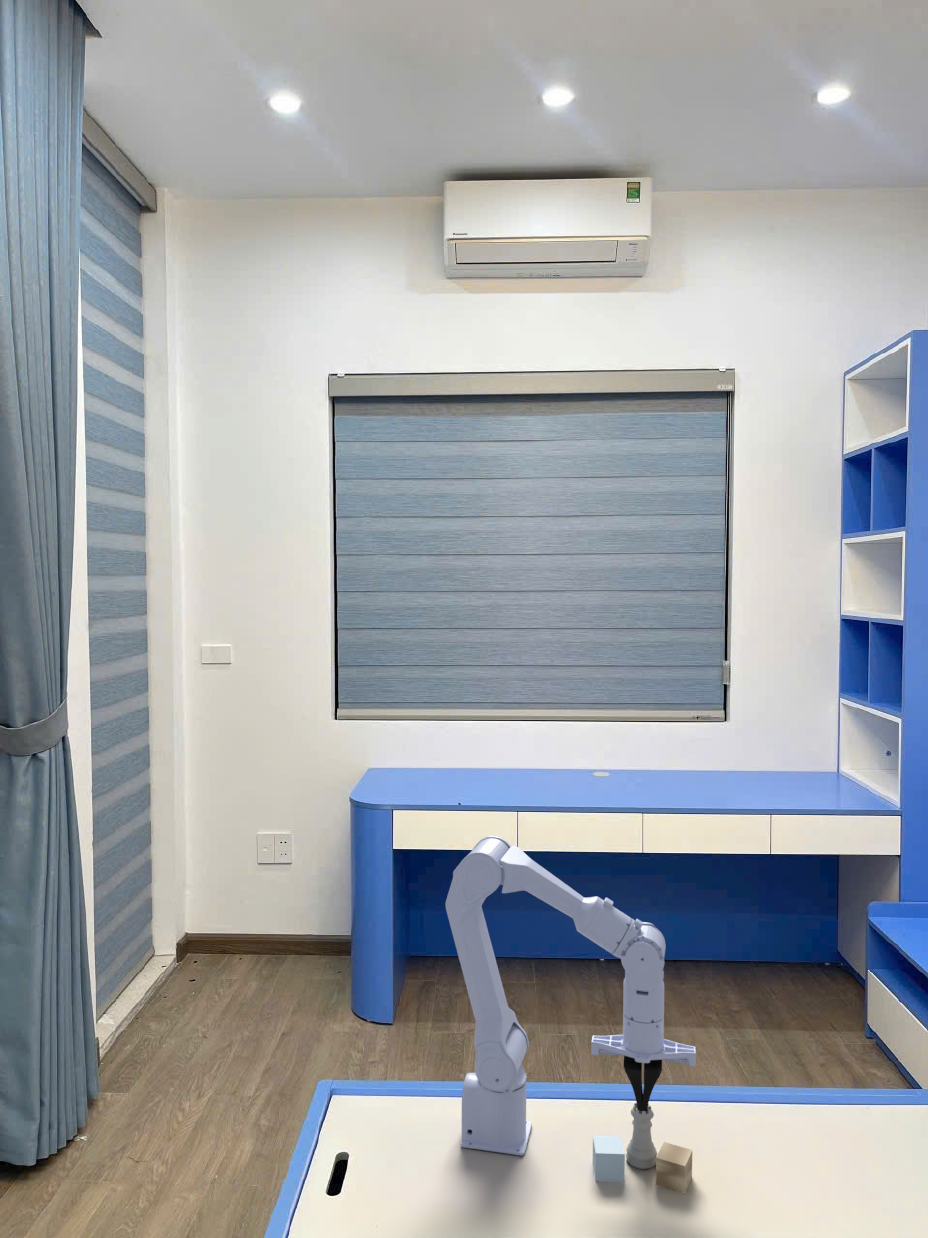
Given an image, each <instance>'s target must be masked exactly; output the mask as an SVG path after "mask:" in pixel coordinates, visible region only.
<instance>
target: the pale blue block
mask: <svg viewBox="0 0 928 1238" xmlns="http://www.w3.org/2000/svg"><path fill="white" fill-rule="evenodd" d="M622 1139H623V1138H622V1136H616V1135H615V1136H613V1135H611V1136H610V1135H608V1136H607V1135H592V1169H593V1174H594V1175H593V1176H594V1180H595V1182H614V1183H615V1182H616V1183H617V1182H621V1183H623V1182H625V1172H626V1171H625V1168H626V1167H625V1165H626V1163H625V1161H626V1160H625V1159H626V1154H625V1148H624V1144H623V1140H622Z"/></svg>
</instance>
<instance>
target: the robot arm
mask: <svg viewBox="0 0 928 1238" xmlns="http://www.w3.org/2000/svg"><path fill="white" fill-rule="evenodd" d="M499 886H502V889H501V894H509V893H516V892H521V891H524V892H527V893H528V894H530V895H532V896H534V897H536V898H537V899H539V900H541V901H543V902H544V903H546V904H547V905H549V906H551V907H553V908H554V909H556V910H558V911H559V912H561V913H563V914H565V915H567V916H568V917H569V918H571V919H572V920H573V923H574V926H575V929H576V931H577V932H578V933H579V934H581V935H582V936H583V937H585V938H587V939H588V940H590V941H591V942H593V943H594V944H596V945H597V946H599V947H601V948H602V949H603V950H605V951H606V952H608V953H609V954H611V955H612V956H614V957H615V958H619V959H620V961H621V965H622V967H623V969H624V978H623V981H622V982H623V984H622V985H623V988H622V989H623V995H622V997H623V998H622V999H623V1000H622V1002H623V1003H622V1005H623V1006H622V1007H623V1009H622V1010H623V1011H622V1034H614V1035H613V1034H611V1035H592V1036H591V1041H590V1042H591V1045H590V1047H591V1049H590V1051H591V1053H590V1055H591V1056H599V1055H600V1054H603V1055H612V1056H621V1057H623V1070H624V1072H625V1075H626V1076H627V1078H628V1080H629V1082H630V1084H631V1087H632V1090H633V1093H634V1097H635V1101H636V1102H635V1103H637V1110H639V1111H646V1112H647V1109H648V1104H650V1103H649V1101H650V1098H651V1095H652V1093H653V1090H654V1087H655V1085H656V1083H657V1082H658V1080H659V1078H660V1076H661V1073H662V1072H663V1070H662V1069H663V1061H665V1062H675V1063H683V1064H687V1066H689V1067H696V1066H697V1063H696V1062H697V1060H696V1059H697V1050H696V1046H694V1045H687V1044H684V1043H679V1042H676V1041H673V1040H669V1039H665V1035H664V1034H665V981H664V978H665V971H664V967H665V955H666V948H667V946H666V940H665V936H664V934H663V933H662V932H661V931H660V929H659V928H657V927H656V926H655V924H653V923H652V922H648V921H647V922H645V921H642V920H640V919H638V918H636V919H634V918H631V916H629V915H627V914H626V913H624V912H623V911H621V910H619V909H618V908H617V907H615V906H613V905H614V901H613V900H611V899H610V898H608V897H605V898H604V899H602V898H601V897H599V896H596V895H595V896H590V897H589V896H588V897H584V896H583V895H581V894H580V893H578V892H577V891H576V890H574V889H573V888H572V887H571V886H569V885H568V884H566V883H565V882H564V881H562V880H561V879H560V878H558V877H557V876H555V875H554V874H552V873H551V871H549V870H547V869H546V868H544V867H543V866H542V865H540V864H539V863H537V862H536V861H535V860H533V859H532V858H531V857H530V856H529V855H527V854H526V853H525V852H524V851H523V850H522V849H521V848H520V847H518V846H515V845H513V844H512V845H510V844H509V842H508V841H507V840H505V839H504V838H502V837H500V836H496V835H490V836H485V837H484V838H482V839H480V840H479V841H478V842H477V843H476V845H474V847H473V848H472V850H470V852H469V853H468V854H467V855H466V856H465V857H464V858H463V859H462V860H461V861H460V863H459V864H458V865H457V866H456V868H455V869H454V870H453V872H452V879H451V883H450V887H449V890H448V893H447V897H446V900H445V910H446V914H447V918H448V921H449V926H450V929H451V933H452V937H453V941H454V945H455V949H456V952H457V956H458V960H459V964H460V968H461V970H462V975H463V979H464V983H465V987H466V990H467V993H468V997H469V1001H470V1005H471V1010H472V1013H473V1016H474V1021H475V1024H474V1025H475V1026H474V1027H475V1028H474V1036H473V1039H474V1040H473V1041H474V1042H473V1045H474V1049H475V1062H474V1072H467V1073H466V1075H465V1077H464V1081H463V1085H462V1095H461V1140H460V1147H461V1148H466V1149H473V1150H479V1151H480V1150H481V1151H487V1152H494V1153H500V1154H501V1153H502V1154H507V1155H514V1156H515V1155H516V1156H524V1155H526V1150H527V1146H528V1142H529V1140H530V1139H529V1138H530V1134H531V1130H532V1128H533V1127H532V1126H533V1123H532V1121H530V1120H527V1073H526V1070H525V1068H524V1065H523V1063H522V1062H523V1061H524V1058H525V1056H526V1055H527V1053H528V1050H529V1047H530V1043H529V1037H528V1035H527V1033H526V1031H525V1029H524V1028H523V1027H522V1026H521V1025H520V1022H519V1021H518V1018H517V1015H516V1013H515V1011H514V1010H513V1009H511V1008H510V1007H509V1004H508V1001H507V997H506V994H505V990H504V986H503V982H502V978H501V975H500V971H499V968H498V963H497V960H496V956H495V952H494V948H493V944H492V941H491V938H490V933H489V930H488V926H487V925H488V924H487V921H486V918H485V914H484V911H483V907H482V906H483V904H484V902H485V900H486V899H487V897H489V896H490V895H492V894H493V893H494V892H495V891H497V889H498V888H499ZM642 1069H643V1070H642ZM642 1071H643V1072H642ZM642 1073H643V1074H642ZM642 1077H643V1079H642Z"/></svg>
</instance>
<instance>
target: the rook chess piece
mask: <svg viewBox="0 0 928 1238" xmlns="http://www.w3.org/2000/svg"><path fill="white" fill-rule="evenodd" d="M630 1115H631V1116H632V1117H633V1120H632V1122H631V1123H632V1127H633V1130H632V1134H631V1135H632V1137H631V1139H630V1140H629V1143H628V1144H627V1147H626V1154H625V1159H626V1160H627V1162H628V1163H629V1164H630V1165H631V1167H633V1168H635V1169H638V1170H649V1169H650V1170H651V1169H652V1168H653V1167H656V1157H657V1155H658V1152H657V1148H656V1146H655V1144H654V1142H653V1140H652V1139H653V1138H652V1132H651V1131H652V1129H651V1128H652V1126H653V1124H652V1119H653V1118H654V1116H655V1114H654V1111H653V1110H652V1106H651V1105H650V1103H648V1109H647V1112H646V1111H639V1110H637V1102H634V1104H633V1105H632V1108H631V1110H630Z"/></svg>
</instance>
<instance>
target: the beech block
mask: <svg viewBox="0 0 928 1238" xmlns="http://www.w3.org/2000/svg"><path fill="white" fill-rule="evenodd" d="M692 1178H693V1149H691V1148H690V1149H689V1148H687V1147H684V1146H681V1145H676V1144H673V1143H670V1142H666V1141H663V1143H662V1145H661V1147H660V1148H659V1152H657V1157H656V1164H655V1186H657V1187H659V1188H663V1189H666V1190H670V1191H672V1192H674V1193H675V1192H676V1193H679V1194H682V1195H686V1192H687V1190H688V1188H689V1186H690V1183H691V1181H692Z"/></svg>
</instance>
